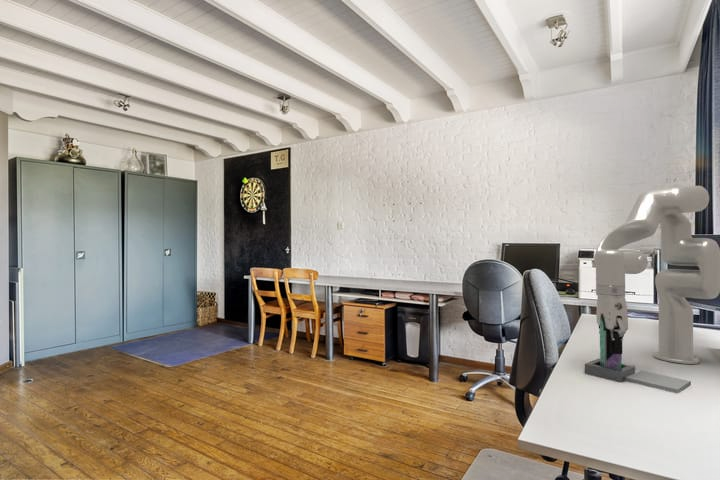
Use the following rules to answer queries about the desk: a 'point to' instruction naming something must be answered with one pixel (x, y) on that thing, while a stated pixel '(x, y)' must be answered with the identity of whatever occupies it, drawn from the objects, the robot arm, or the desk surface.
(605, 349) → the spray can
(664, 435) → the desk surface
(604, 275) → the robot arm
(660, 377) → the mat
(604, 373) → the grey square frame
